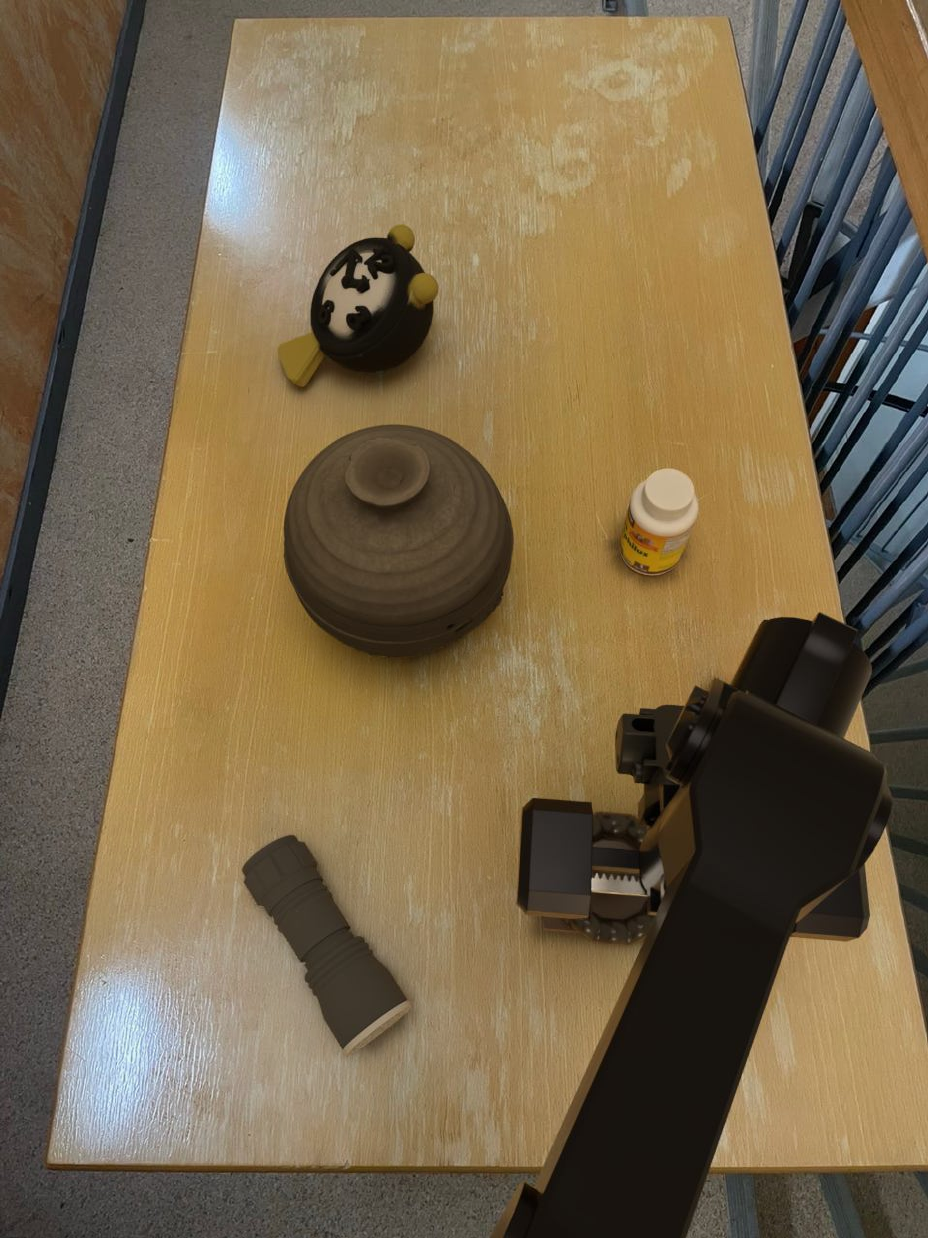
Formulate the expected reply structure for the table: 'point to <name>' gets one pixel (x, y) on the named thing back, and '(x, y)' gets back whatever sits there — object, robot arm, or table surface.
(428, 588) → the pot
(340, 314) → the alarm clock
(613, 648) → the table surface
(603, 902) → the rack
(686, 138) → the table surface
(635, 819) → the studded brown bangle
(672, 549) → the supplement bottle
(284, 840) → the flashlight
